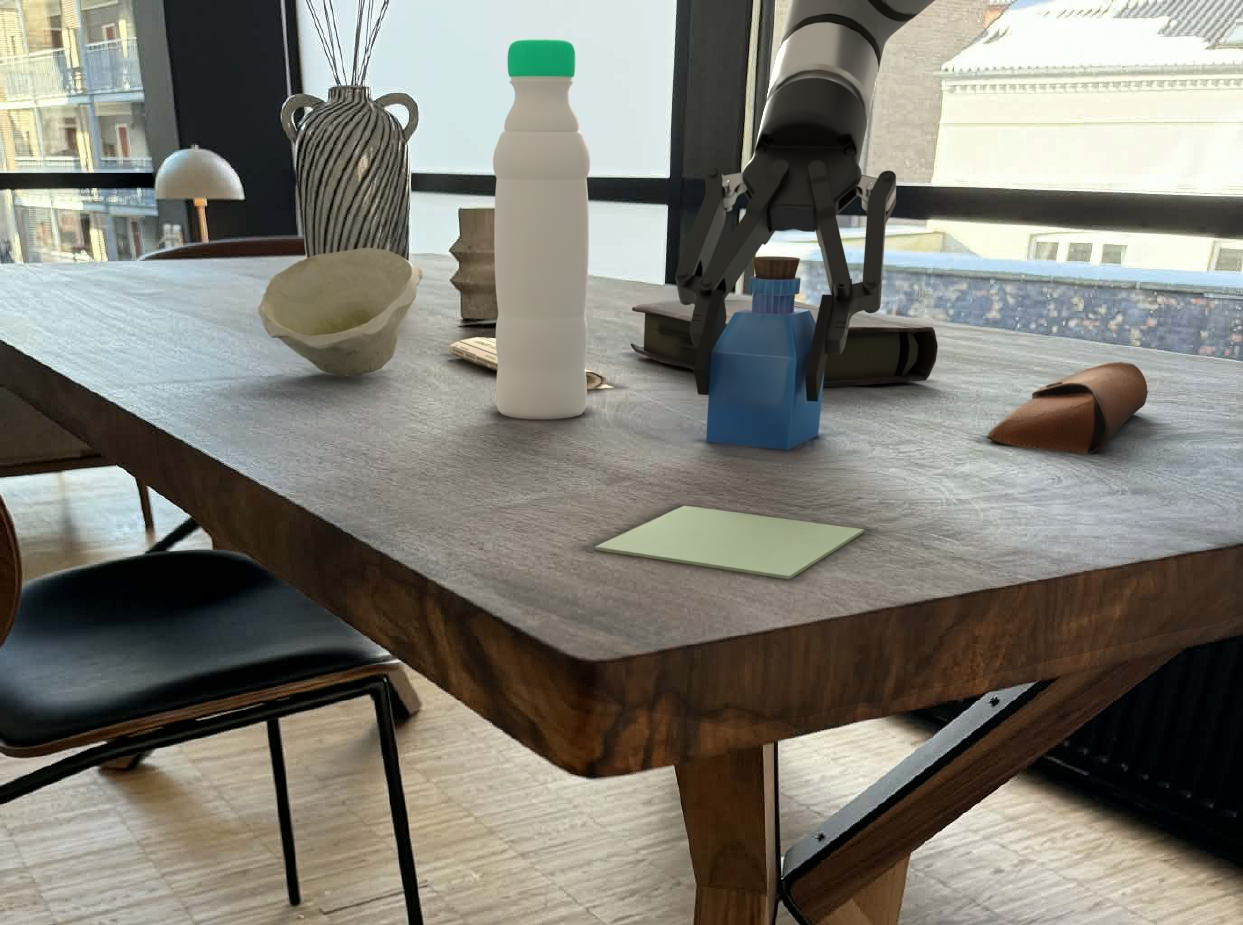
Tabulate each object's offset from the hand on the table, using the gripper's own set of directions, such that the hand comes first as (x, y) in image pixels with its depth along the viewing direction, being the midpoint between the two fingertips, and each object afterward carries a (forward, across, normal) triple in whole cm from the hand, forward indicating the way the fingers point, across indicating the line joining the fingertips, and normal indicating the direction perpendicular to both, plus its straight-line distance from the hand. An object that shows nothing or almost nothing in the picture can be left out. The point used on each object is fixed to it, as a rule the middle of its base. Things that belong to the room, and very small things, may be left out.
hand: (755, 385), depth 98 cm
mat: (+21, -4, +15) cm, 27 cm away
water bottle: (-3, +18, -9) cm, 21 cm away
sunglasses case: (-7, -21, -14) cm, 26 cm away
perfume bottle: (+1, 0, -6) cm, 6 cm away
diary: (-24, +6, -30) cm, 39 cm away
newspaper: (-17, +26, -23) cm, 39 cm away
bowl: (-13, +42, -19) cm, 48 cm away
